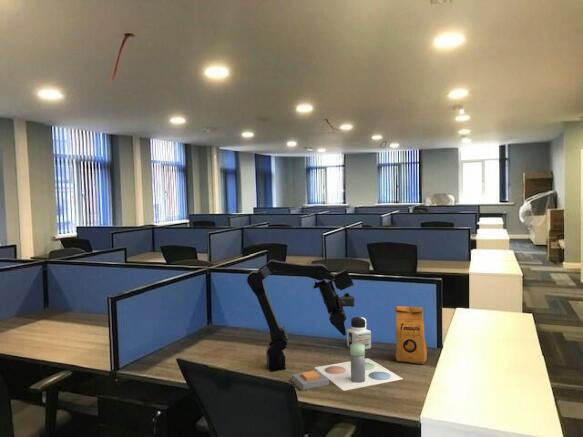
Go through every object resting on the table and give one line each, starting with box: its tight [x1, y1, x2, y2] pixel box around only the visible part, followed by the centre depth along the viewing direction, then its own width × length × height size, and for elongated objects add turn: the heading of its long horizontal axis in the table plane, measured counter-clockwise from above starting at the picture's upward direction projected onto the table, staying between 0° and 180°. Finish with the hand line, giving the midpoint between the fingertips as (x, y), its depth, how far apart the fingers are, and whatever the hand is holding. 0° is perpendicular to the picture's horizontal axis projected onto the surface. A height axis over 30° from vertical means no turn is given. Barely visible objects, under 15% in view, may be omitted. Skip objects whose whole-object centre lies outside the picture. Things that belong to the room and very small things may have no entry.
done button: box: [300, 370, 320, 381], centre depth 170 cm, size 5×5×2 cm
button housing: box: [291, 369, 330, 392], centre depth 170 cm, size 10×10×2 cm
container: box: [346, 316, 372, 350], centre depth 209 cm, size 8×8×13 cm
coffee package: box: [395, 305, 428, 365], centre depth 190 cm, size 10×12×22 cm
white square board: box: [314, 357, 404, 392], centre depth 177 cm, size 24×24×1 cm
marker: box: [349, 343, 366, 383], centre depth 170 cm, size 5×5×12 cm
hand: (343, 331), depth 185 cm, fingers open, 9 cm apart
